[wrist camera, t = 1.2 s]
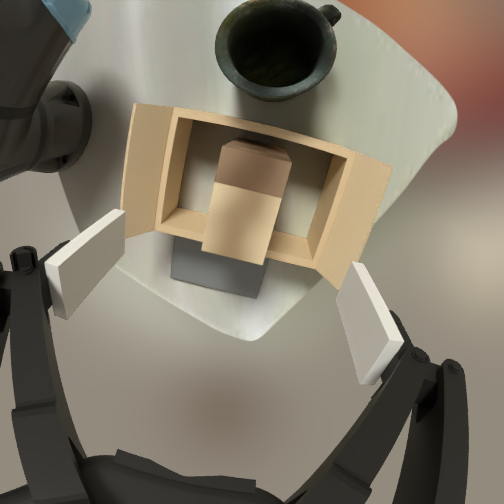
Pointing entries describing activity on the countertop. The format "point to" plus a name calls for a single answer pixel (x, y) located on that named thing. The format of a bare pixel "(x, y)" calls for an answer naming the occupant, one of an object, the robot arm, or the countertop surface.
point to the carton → (281, 244)
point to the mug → (277, 47)
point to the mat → (215, 269)
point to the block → (246, 199)
